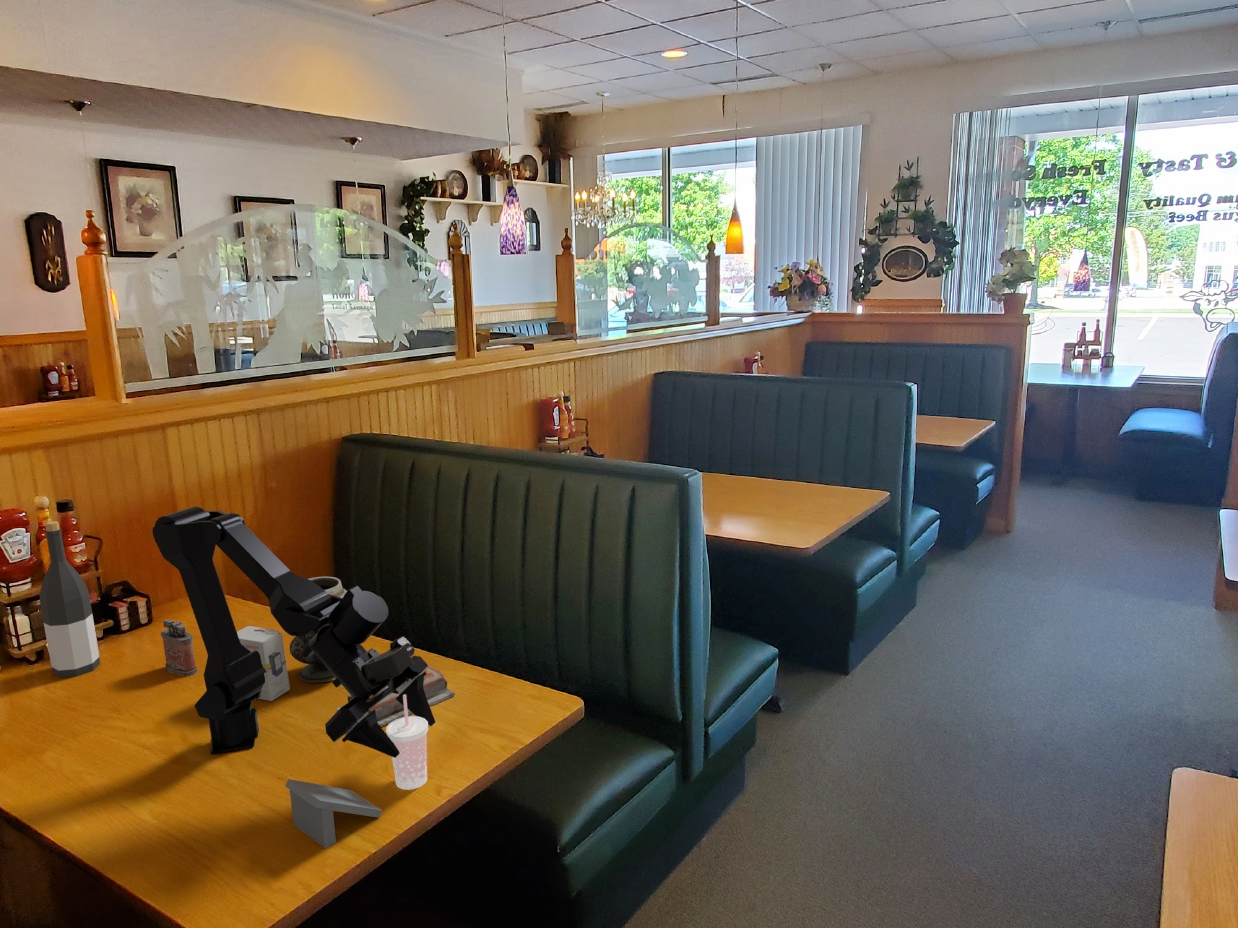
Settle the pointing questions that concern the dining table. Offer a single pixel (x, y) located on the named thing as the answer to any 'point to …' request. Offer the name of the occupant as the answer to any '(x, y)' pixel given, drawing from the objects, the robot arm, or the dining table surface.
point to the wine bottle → (67, 613)
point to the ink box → (268, 659)
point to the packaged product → (394, 710)
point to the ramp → (324, 808)
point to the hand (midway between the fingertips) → (416, 739)
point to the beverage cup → (409, 749)
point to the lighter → (178, 649)
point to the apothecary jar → (315, 667)
